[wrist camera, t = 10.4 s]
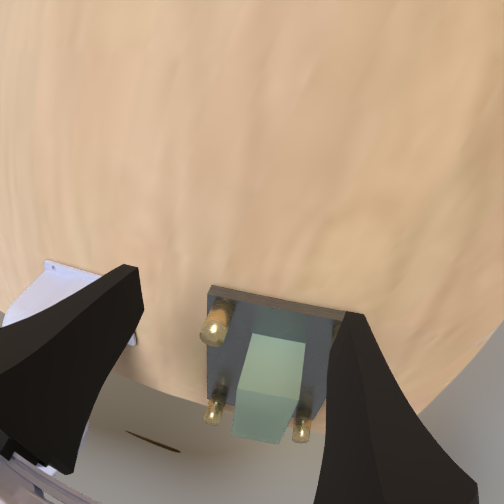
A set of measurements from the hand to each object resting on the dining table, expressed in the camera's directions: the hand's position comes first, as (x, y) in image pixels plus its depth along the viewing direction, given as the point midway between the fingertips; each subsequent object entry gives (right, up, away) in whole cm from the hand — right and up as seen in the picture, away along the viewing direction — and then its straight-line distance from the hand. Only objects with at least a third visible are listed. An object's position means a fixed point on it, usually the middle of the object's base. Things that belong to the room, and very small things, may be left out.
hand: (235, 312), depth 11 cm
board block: (+2, -8, +15) cm, 17 cm away
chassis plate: (+2, -7, +16) cm, 17 cm away
